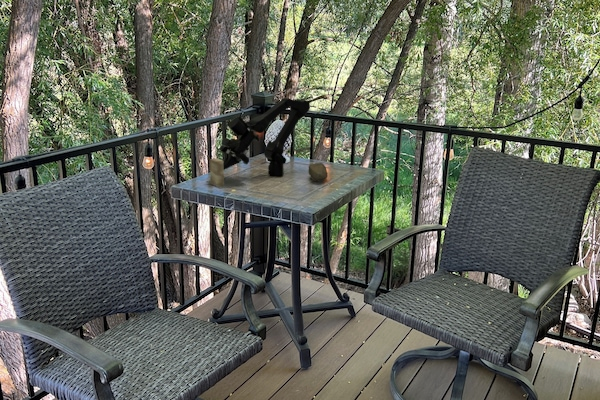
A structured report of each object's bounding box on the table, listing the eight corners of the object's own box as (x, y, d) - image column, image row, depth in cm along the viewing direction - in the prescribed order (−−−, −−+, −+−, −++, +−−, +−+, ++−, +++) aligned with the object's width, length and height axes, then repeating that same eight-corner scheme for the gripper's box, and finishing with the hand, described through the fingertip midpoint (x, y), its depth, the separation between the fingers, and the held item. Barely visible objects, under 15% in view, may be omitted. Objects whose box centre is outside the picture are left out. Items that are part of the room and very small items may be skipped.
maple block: (217, 182, 261) (217, 158, 257) (224, 185, 256) (223, 160, 253) (210, 183, 259) (209, 159, 255) (217, 186, 254) (216, 161, 251)
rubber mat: (231, 178, 269) (230, 177, 269) (245, 185, 258) (245, 184, 258) (205, 182, 262) (205, 181, 262) (219, 189, 251) (219, 188, 251)
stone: (306, 175, 275) (306, 159, 272) (324, 175, 275) (325, 158, 273) (310, 185, 259) (310, 168, 256) (330, 184, 259) (330, 167, 257)
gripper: (222, 127, 262) (200, 154, 259) (242, 134, 248) (220, 162, 245) (238, 142, 269) (217, 169, 266) (258, 150, 254) (237, 178, 251)
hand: (222, 169), depth 257 cm, fingers closed
